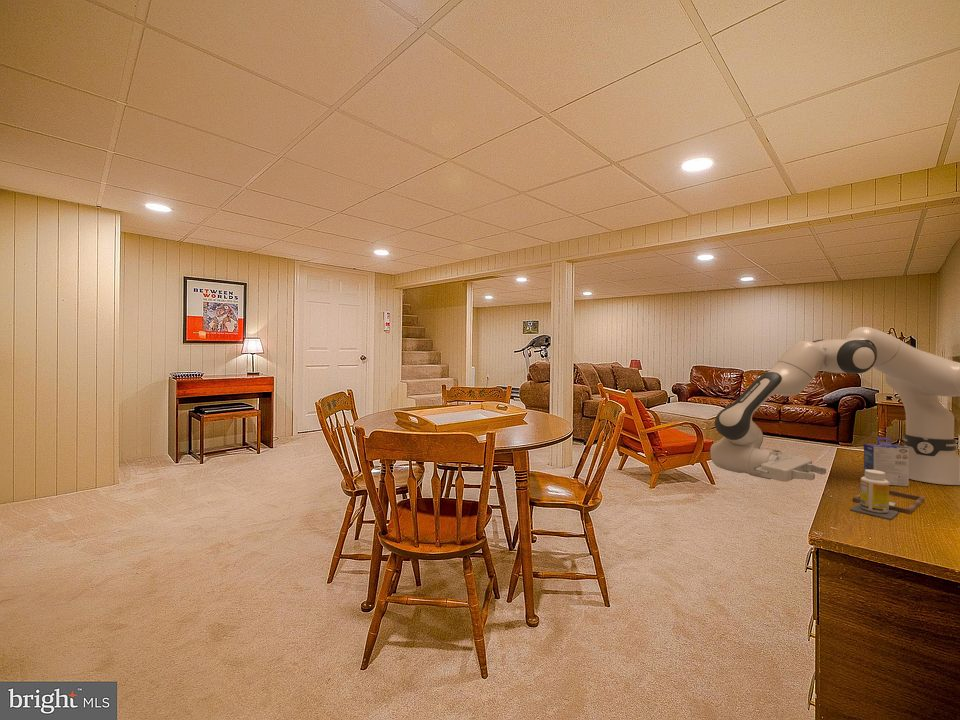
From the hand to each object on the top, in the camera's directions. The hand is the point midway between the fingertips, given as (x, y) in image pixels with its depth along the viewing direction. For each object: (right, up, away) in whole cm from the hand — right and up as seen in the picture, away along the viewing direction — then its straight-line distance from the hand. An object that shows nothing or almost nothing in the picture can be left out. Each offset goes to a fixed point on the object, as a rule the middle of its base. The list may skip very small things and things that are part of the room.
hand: (819, 474), depth 123 cm
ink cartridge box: (+33, -7, +16) cm, 37 cm away
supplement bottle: (+7, -7, -10) cm, 14 cm away
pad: (+6, -7, -10) cm, 14 cm away
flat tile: (+15, -8, -4) cm, 17 cm away
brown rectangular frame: (+18, -7, -1) cm, 20 cm away
